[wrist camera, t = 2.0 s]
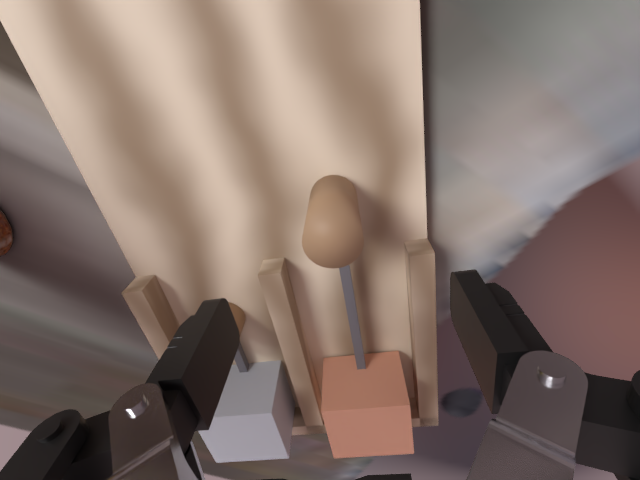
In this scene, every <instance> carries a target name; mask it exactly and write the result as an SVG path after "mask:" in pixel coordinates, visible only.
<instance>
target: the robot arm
mask: <svg viewBox="0 0 640 480" xmlns="http://www.w3.org/2000/svg"><path fill="white" fill-rule="evenodd" d="M450 310H451V317H452V321H453V324H454V327H455V329H456V332H457V334H458V336H459V339H460V341H461V343H462V346H463V348H464V350H465V353H466V355H467V357H468V360H469V362H470V364H471V367H472V369H473V371H474V374H475V376H476V378H477V381H478V383H479V385H480V388H481V390H482V392H483V395H484V397H485V399H486V402H487V404H488V406H489V408H490V411H491V413H492V414H498V415H497V417H496V419H495V420H494V419H492V420H491V421H490V423H489V425H488V427H487V430H486V432H485V435H484V437H483V439H482V442H481V444H480V447H479V450H478V452H477V454H476V457H475V459H474V462H473V464H472V467H471V469H470V472H469V475H468V477H467V479H466V480H573V474H574V469H575V463H578V464H582V465H585V466H589V467H593V468H597V469H600V470H604V471H608V472H612V473H614V474H615V476H616V478H617V479H618V480H640V370H639V371H638V372H636V373H635V374H634V376H633V378H632V381H625V380H619V379H614V378H608V377H602V376H596V375H591V374H588V373H585V372H583V370H582V369H581V368H580V367H579V366H578V365H577V364H576V363H574V362H573V361H571V360H570V359H568V358H566V357H564V356H562V355H560V354H557V353H553V351H552V350H551V349H550V347H549V346H548V345H547V343H546V342H545V340H544V339H543V338H542V336H541V335H540V334H539V332H538V331H537V329H536V328H535V327H534V326H533V324H532V323H531V321H530V320H529V318H528V317H527V316H526V315H525V314H524V312H523V310H522V309H521V308H520V306H518V305H517V302H516V301H515V299H514V298H513V297H512V295H511V294H510V293H509V291H507V290H505V289H504V288H502V287H501V286H499V285H498V284H496V283H488V284H485V283H484V281H483V280H482V278H481V277H480V275H479V274H478V272H477V271H476V270H467V271H458V272H452V273H451V277H450ZM239 342H240V334H239V329H238V326H237V324H236V321H235V319H234V316H233V313H232V311H231V308H230V306H229V303H228V301H227V300H226V299H225V298H219V299H211V300H204V301H203V302H202V303H201V305H200V307H199V308H198V310H197V312H196V314H195V315H191V316H190V317H189V318H188V319H187V320H186V321H185V322H183V323H182V324H181V325H180V326H179V328H178V330H177V331H176V333H175V335H174V336H173V339H172V340H171V341H170V343H169V345H168V346H167V349H166V350H165V351H164V353H163V355H162V356H161V358H160V360H159V361H158V363H157V364H156V366H155V368H154V369H153V371H152V373H151V374H150V376H149V378H148V379H147V381H146V383H145V384H141V385H138V386H136V387H134V388H132V389H130V390H129V391H127V392H126V393H125V394H123V395H122V396H121V397H120V398H119V399H118V400H117V401H116V402H115V404H114V405H113V407H112V408H111V410H110V411H107V412H104V413H102V414H99V415H96V416H93V417H90V418H88V419H85V420H84V418H83V417H82V416H81V415H80V413H79V412H78V411H76V410H72V409H71V410H64V411H61V412H59V413H56V414H54V415H53V416H51V417H49V418H48V419H46V420H45V421H43V422H42V423H41V424H39V425H38V426H37V427H36V428H35V429H34V430H33V431H32V432H31V433H30V434H29V436H28V437H27V438H26V439H25V441H24V442H23V443H22V445H21V446H20V447H19V448H18V450H17V451H16V452H15V453H14V455H13V456H12V457H11V459H10V460H9V461H8V462H7V464H6V465H5V466H4V467H3V469H2V470H1V472H0V480H205V478H204V475H203V472H202V469H201V466H200V463H199V460H198V457H197V454H196V451H195V448H194V445H193V443H192V441H191V439H192V437H193V434H194V432H195V431H202V430H209V428H210V425H211V423H212V420H213V417H214V414H215V411H216V409H217V406H218V403H219V400H220V397H221V394H222V392H223V389H224V386H225V383H226V380H227V378H228V375H229V372H230V369H231V366H232V364H233V361H234V358H235V355H236V352H237V350H238V347H239ZM263 480H286V479H263ZM355 480H412V479H411V474H390V475H367V476H364V477H361V478H358V479H355Z"/></svg>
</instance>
